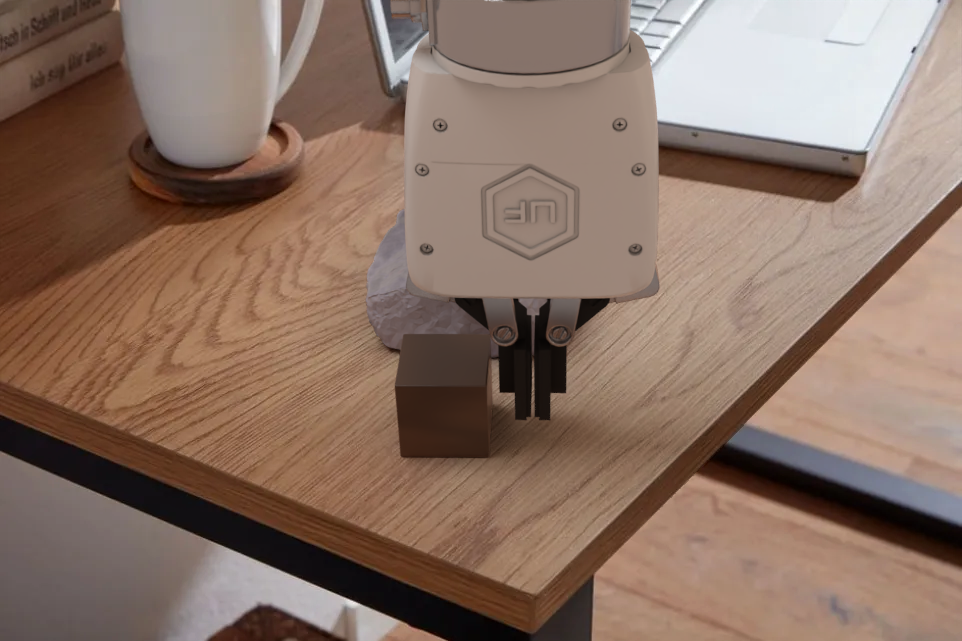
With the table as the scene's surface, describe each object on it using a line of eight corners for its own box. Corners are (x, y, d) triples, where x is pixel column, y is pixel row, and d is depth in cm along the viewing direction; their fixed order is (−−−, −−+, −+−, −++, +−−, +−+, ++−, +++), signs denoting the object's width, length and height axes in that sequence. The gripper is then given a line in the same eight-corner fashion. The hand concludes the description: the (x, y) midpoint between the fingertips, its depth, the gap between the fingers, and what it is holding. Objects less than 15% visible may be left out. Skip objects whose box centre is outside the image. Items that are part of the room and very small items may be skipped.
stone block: (367, 383, 67) (561, 361, 65) (341, 303, 65) (541, 276, 63) (409, 267, 77) (578, 244, 75) (387, 194, 75) (562, 167, 73)
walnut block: (492, 403, 63) (490, 333, 61) (489, 457, 60) (486, 386, 58) (408, 402, 63) (403, 333, 61) (400, 457, 60) (394, 385, 58)
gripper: (317, 53, 47) (358, 453, 58) (742, 50, 47) (707, 456, 57) (345, -20, 54) (378, 353, 64) (720, -24, 53) (692, 354, 63)
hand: (533, 401), depth 60 cm, fingers closed
